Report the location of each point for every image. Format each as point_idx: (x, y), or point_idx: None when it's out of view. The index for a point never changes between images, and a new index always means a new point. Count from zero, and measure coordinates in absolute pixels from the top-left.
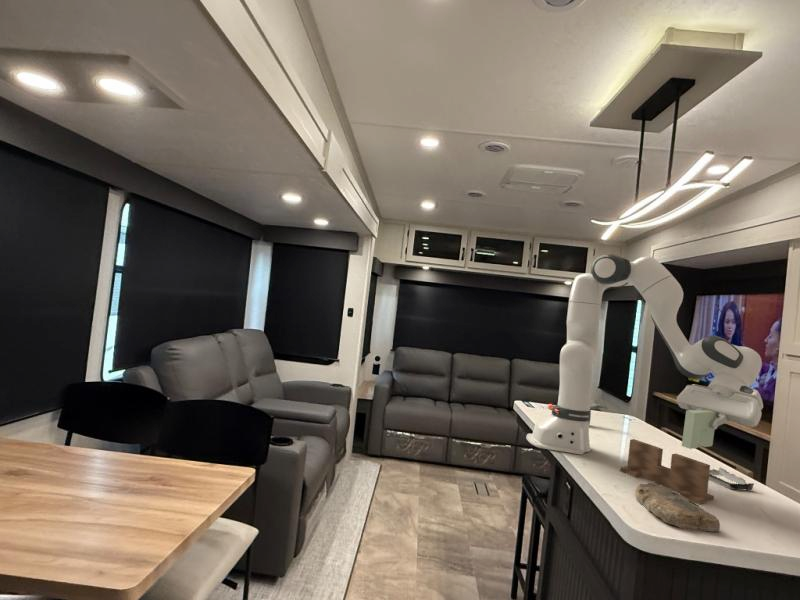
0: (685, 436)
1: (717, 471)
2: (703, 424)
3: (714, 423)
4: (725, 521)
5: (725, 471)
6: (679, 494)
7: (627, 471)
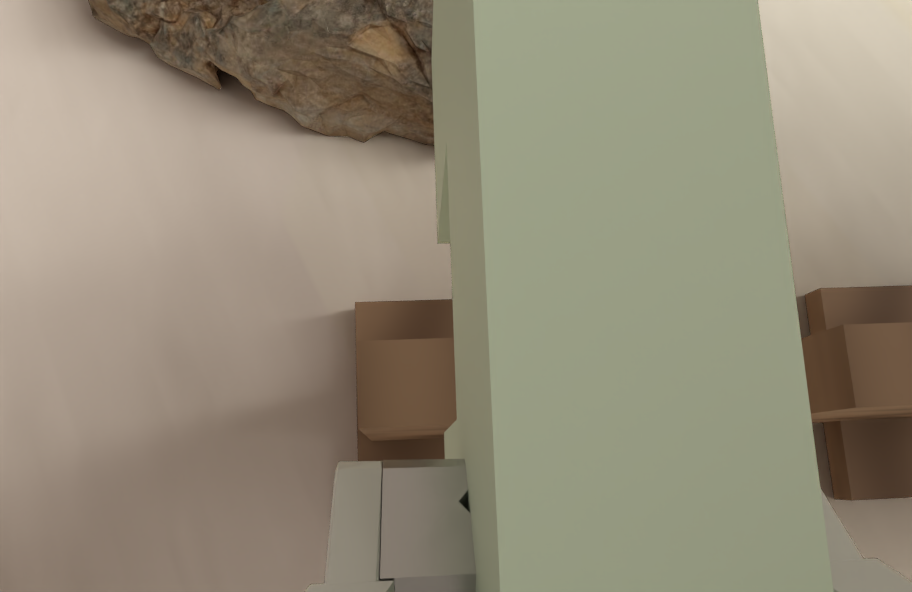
0: None
1: None
2: (455, 204)
3: (354, 504)
4: (148, 212)
5: None
6: (356, 24)
7: (876, 288)
